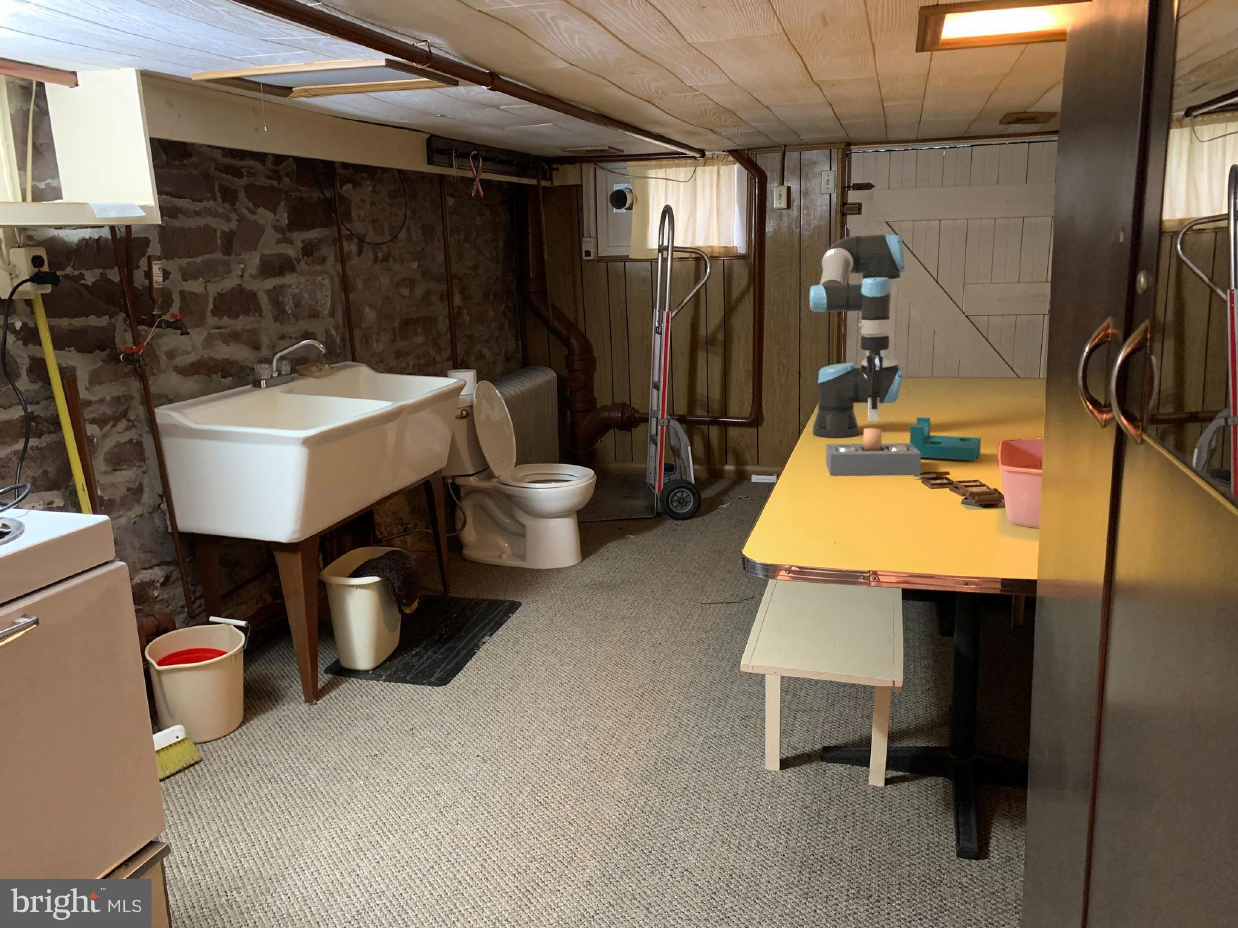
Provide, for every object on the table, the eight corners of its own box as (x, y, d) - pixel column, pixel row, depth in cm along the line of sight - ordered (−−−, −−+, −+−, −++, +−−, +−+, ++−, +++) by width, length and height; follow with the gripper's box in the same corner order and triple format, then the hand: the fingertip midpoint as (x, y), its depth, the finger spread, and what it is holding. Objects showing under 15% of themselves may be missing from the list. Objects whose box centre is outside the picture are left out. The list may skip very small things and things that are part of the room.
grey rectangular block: (826, 464, 274) (826, 444, 272) (911, 463, 271) (911, 443, 269) (830, 475, 260) (830, 454, 259) (920, 474, 257) (920, 453, 256)
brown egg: (862, 449, 267) (862, 428, 266) (879, 449, 266) (880, 427, 265) (864, 453, 262) (864, 431, 261) (882, 452, 262) (882, 430, 260)
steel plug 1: (836, 466, 269) (837, 445, 268) (854, 466, 268) (854, 445, 267) (838, 470, 264) (838, 449, 263) (856, 470, 264) (856, 448, 262)
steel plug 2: (887, 466, 267) (887, 444, 266) (904, 466, 266) (905, 444, 265) (889, 470, 262) (890, 448, 261) (907, 470, 262) (908, 448, 260)
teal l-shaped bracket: (909, 461, 277) (910, 426, 274) (917, 450, 286) (917, 417, 283) (974, 465, 268) (975, 430, 265) (980, 454, 277) (981, 420, 274)
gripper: (858, 333, 264) (856, 416, 269) (863, 337, 251) (862, 424, 256) (885, 332, 263) (883, 416, 268) (892, 336, 250) (890, 424, 256)
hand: (873, 420), depth 262 cm, fingers closed
